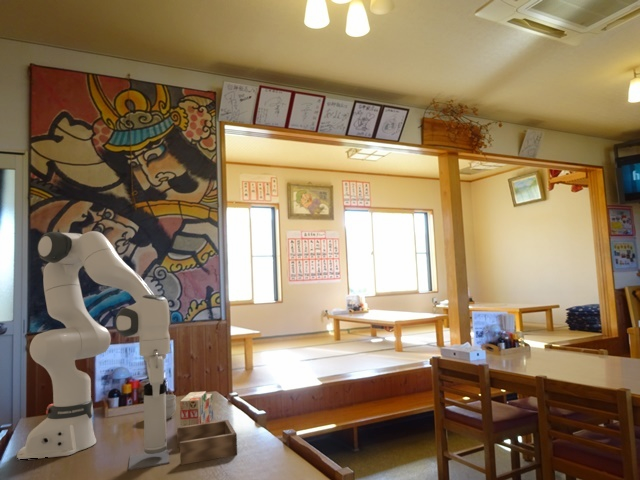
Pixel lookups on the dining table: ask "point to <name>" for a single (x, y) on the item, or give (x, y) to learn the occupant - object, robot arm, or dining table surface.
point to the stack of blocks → (196, 408)
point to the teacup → (170, 405)
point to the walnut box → (206, 441)
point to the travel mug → (154, 420)
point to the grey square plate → (148, 460)
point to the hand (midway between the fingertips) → (155, 394)
